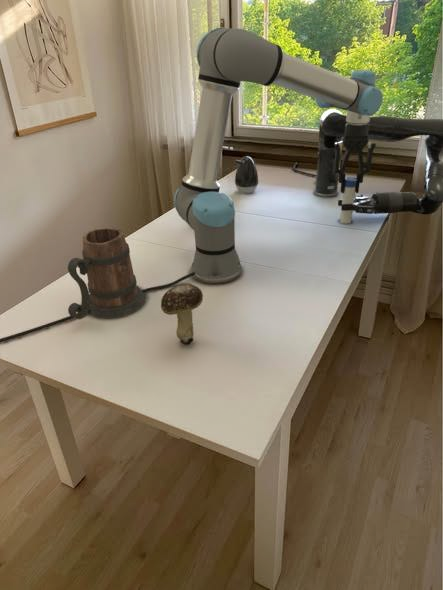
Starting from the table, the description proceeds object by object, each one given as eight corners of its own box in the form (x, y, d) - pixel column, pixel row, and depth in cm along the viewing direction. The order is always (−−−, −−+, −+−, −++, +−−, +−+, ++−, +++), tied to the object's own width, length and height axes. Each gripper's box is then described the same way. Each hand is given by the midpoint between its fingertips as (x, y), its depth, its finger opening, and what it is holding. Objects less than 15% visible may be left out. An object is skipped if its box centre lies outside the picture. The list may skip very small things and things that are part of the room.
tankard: (113, 279, 133) (101, 217, 123) (158, 293, 126) (149, 228, 115) (52, 320, 116) (32, 252, 106) (99, 339, 109) (83, 267, 98)
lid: (359, 185, 156) (360, 179, 155) (348, 187, 154) (349, 181, 153) (351, 182, 159) (351, 176, 158) (341, 184, 158) (341, 178, 157)
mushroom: (205, 329, 111) (202, 278, 102) (206, 352, 103) (202, 298, 95) (168, 331, 110) (161, 279, 102) (165, 354, 103) (158, 300, 95)
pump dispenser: (230, 190, 197) (229, 155, 189) (251, 186, 201) (251, 151, 193) (241, 196, 189) (240, 161, 181) (262, 192, 193) (263, 157, 185)
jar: (346, 224, 162) (352, 183, 154) (337, 221, 164) (342, 180, 156) (353, 221, 164) (358, 180, 156) (344, 218, 167) (349, 178, 158)
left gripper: (331, 125, 143) (325, 195, 156) (387, 124, 142) (376, 195, 154) (329, 121, 150) (323, 188, 162) (382, 120, 148) (372, 188, 160)
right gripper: (392, 220, 157) (343, 222, 157) (378, 205, 169) (333, 207, 169) (395, 199, 153) (346, 202, 153) (381, 186, 165) (335, 188, 165)
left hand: (349, 191), depth 158 cm, fingers closed on lid, 4 cm apart
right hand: (340, 205), depth 161 cm, fingers closed on jar, 4 cm apart
